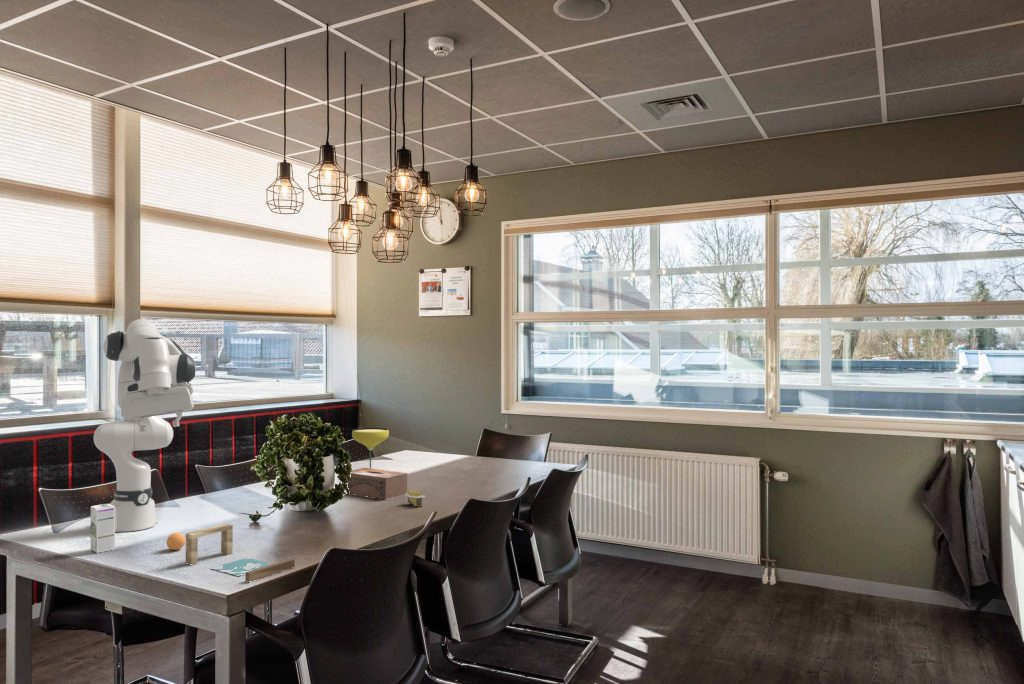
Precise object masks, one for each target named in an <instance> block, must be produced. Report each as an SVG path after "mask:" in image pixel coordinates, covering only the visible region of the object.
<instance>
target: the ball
mask: <svg viewBox="0 0 1024 684" xmlns="http://www.w3.org/2000/svg"><path fill="white" fill-rule="evenodd" d="M184 545H186V536H185V535H184V534H182V533H180V532H174V533H171V534H170V535H168V537H167V539H166V547H167V548H169V550H172V551H178V550H180V549H182V548H183V547H184Z"/></svg>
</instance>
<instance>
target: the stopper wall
mask: <svg viewBox="0 0 1024 684" xmlns="http://www.w3.org/2000/svg"><path fill="white" fill-rule="evenodd" d="M292 567H295V559H294V558H290V557H289V558H287V559H284V560H281V561H278V562H277V561H276V562H274V563H271V565H268V566H264V567H261V568H258V569H255V570H252V571H249V572H246V575H245V582H246V581H253V582H255V581H254V580H256V581H258V580H257V579H259V580H262V579H265V578H268V577H271V576H273V575H272V574H274V575H276V574H275V573H277V574H279V573H278V572H280V573H282V572H281V571H283V572H285V571H284V570H286V571H288V570H287V569H289V570H291V569H290V568H292ZM292 569H293V568H292ZM270 575H271V576H270ZM267 576H268V577H267ZM264 577H265V578H264ZM261 578H262V579H261Z"/></svg>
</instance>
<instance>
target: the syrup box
mask: <svg viewBox="0 0 1024 684" xmlns="http://www.w3.org/2000/svg"><path fill="white" fill-rule="evenodd" d="M90 550H91V551H92V552H94V553H95V552H96V554H100V553H99V552H103V553H105V552H104V551H108V552H111V551H110V550H112V551H115V550H116V532H115V506H113V505H110V503H101V504H97V505H91V506H90Z"/></svg>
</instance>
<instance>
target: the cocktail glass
mask: <svg viewBox="0 0 1024 684" xmlns="http://www.w3.org/2000/svg"><path fill="white" fill-rule="evenodd" d="M389 435H390V431H389V429H387V428H385V427H384V428H382V427H361V428H360V427H359V428H354V429H352V432H351V437H352V439H353V440H354V441H356V442H357V443H359V444H361V445H363V446H365V447H366V448H367V450H368V451H369V468H372V451H373V450H374V448H375V447H376V446H377V445H379V444H380V443H384V441H386V440H387V439H388V438H389Z"/></svg>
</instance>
